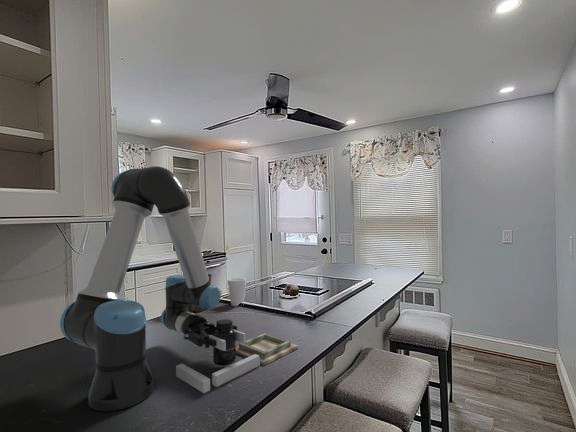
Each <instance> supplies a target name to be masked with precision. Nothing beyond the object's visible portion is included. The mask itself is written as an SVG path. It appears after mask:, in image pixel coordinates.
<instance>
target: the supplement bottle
mask: <svg viewBox="0 0 576 432" xmlns="http://www.w3.org/2000/svg"><path fill="white" fill-rule="evenodd" d="M216 322H217V323H215V324H216V329H217V330H216V331H215V332H214V333H213V336H215V337H218V338H220V339H223V340H225V341H226V350H225V351H222V350H220V349H218V348H215V347H213V346H212V362H213V364H215V365H216V366H219V367H220V366H221V367H222V366H223V367H224V366H225V367H226V366H230V365H232V364H234V363H235V362H236V359H237V355H236V354H237V353H236V346H237V344H236V343H237V341H236V332H235V331H234V330H233V329H232V328H233V320H231V319H226V318H225V319H219V320H216Z"/></svg>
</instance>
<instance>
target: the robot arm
mask: <svg viewBox="0 0 576 432" xmlns="http://www.w3.org/2000/svg"><path fill="white" fill-rule="evenodd" d="M111 193H112V197H113V200H112V203H111V204H112V205H113V206H112V207H114V210H115V211H114V213H113V216H112V219H111V222H110V224H109V226H108V229H107V232H106V234H105V235H106V236H105V238H104V240H103V244H102V246H101V249H100V252H99V255H98V257H97V260H96V262H95V265H94V267H93V271H92V272H91V273H92V274H91V276H90V278H89V281H88V283H87V286H86V287H85V288H84V289H82V290H80V291H78V293H77V296H76V299H75V301H73V302H72V303H71V304H70V305H69V304H68V306H66V308H65V309H64V310H63V312H62V314H61V317H60V322H59V326H60V327H59V328H60V331H61V333H62V335H63V336H64V338H66V339H67V340H69V341H70V342H71V343H73V344H76V345H78V346H83V347H86V348H89V349H91V350H94V351H95V372H94V376H93V378H92V382H91V385H90V388H89V390H88V391H89V392H88V395H87V397H88V399H87V400H88V406H89V408H91V409H92V410H95V411H98V412H115V411H120V410H123V409H124V410H125V409H127V408H130V407H134V406H135V405H137V404H140V403H141V402H143V401H144V400H146V399H147V398H149V397H150V396H151V394H152V393H153V391H154V388H155V381H154V376H153V374H152V372H151V368H150V366H149V364H148V361H147V345H146V344H147V339H146V338H147V335H146V333H147V332H146V329H147V327H146V324H147V318H146V311H145V308H144V306H143V305H142V304H141V303H140V302H137V301H134V300H124V299H123V298H122V296H121V294H120V291H121V289H122V286H123V283H124V280H125V278H126V274H127V271H128V268H129V265H130V262H131V260H132V257H133V253H134V251H135V246H136V245H137V242H138V238H139V235H140V233H141V230H142V227H143V224H144V221H145V218H147V217H149V216H151V215H152V212H153V209H154V207H155V206H156V208H157V212H158V215H160V216H162V217H163V218H164V221H165V224H166V227H167V230H168V233H169V236H170V239H171V242H172V245H173V248H174V252H175V254H176V258H177V261H178V263H179V267H180V270H181V273H182V274H173V275H169V276H168V277H166V279H165V288H164V289H165V309H163V310H162V313H161V315H160V322H161V324H162V325H163V326H164V327H165V328H166V329H168V330H170V331H174V332H175V333H176V332H177V333H179V334H181V335H183V340H187V341H190V342H191V343H193V344H195V345H196V346H198V347H199V348H200V347H201V348H202V347H203V346H204V348H206V349H209V348H210V347H212V348H213V347H215V348H218V349H220V350H222V351H225V350H226V341H225V340H223V339H220V338H218V337H215V336H213V333H214V332H215V331H216V330H217V329H216V323H217V321H216V323H214V322H210V321H207V319H206V318H205V317H204V316H202V315H199V314H197V313H194V312H188V305H192V306H197V307H201V308H208V309H213V308H216V307H217V306H218V304H219V302H220V301H221V290H220V288H219V287H218V286H216V285H214V284H212V282H211V283H210V280H209V276H208V274H209V273H208V271H207V266H206V264H205V259H204V257H203V254H202V251H201V246H200V244H199V240H198V237H197V234H196V230H195V228H194V224H193V221H192V217H191V214H190V210H189V209H190V207H191V202H190V199H189V197H188V194H187V191H186V189H185V187H184V185H183V184H182V182H181V181H180V179H179V178H178V177H177V176H176V174H175V173H173V172H172V171H171V170H170V169H167V168H165V167H162V166H159V165H158V166H154V165H153V166H149V167H144V168H143V167H142V168H130V169H127V170H125V171H122V172H120V173H119V174H117V175H116V176H115V177H114V179H113V180H112V184H111ZM232 325H233V324H232ZM232 329H233V330H234V331H235V332H236V342H240V343H246V341H247V340H246V336H247V335H246V334H247V333H245V332H243V331H239V330H238V326H237V325H233V328H232Z"/></svg>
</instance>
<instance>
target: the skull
mask: <svg viewBox="0 0 576 432" xmlns="http://www.w3.org/2000/svg"><path fill="white" fill-rule="evenodd" d="M281 293H282V294H285V295H290V296H296V295H298V294H299V295H300V288H299V287H298V285H297V284H296V283H294V282H289V283H287V285H285V287H284V288H283V289H282V291H281Z"/></svg>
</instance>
